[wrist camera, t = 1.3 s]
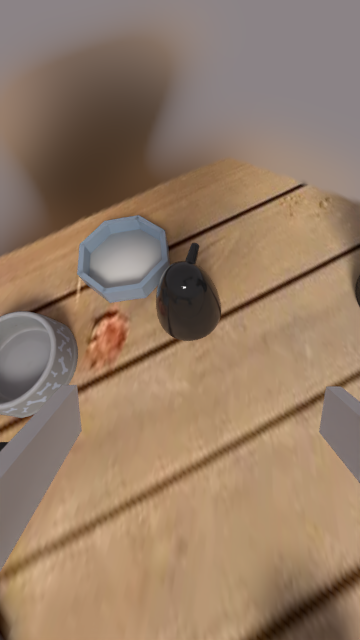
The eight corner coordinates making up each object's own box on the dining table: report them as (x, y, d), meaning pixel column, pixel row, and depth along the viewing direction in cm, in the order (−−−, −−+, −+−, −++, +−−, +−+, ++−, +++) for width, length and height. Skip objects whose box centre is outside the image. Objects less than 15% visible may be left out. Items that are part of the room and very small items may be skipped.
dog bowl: (51, 429, 40) (29, 429, 35) (-38, 398, 44) (-70, 394, 39) (92, 330, 46) (78, 319, 41) (11, 311, 50) (-11, 299, 45)
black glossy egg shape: (227, 301, 45) (234, 245, 31) (209, 355, 42) (208, 319, 28) (174, 287, 47) (159, 229, 34) (153, 337, 44) (126, 295, 30)
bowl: (126, 218, 56) (121, 205, 53) (186, 253, 50) (184, 241, 47) (70, 271, 52) (61, 261, 49) (128, 317, 46) (122, 308, 43)
